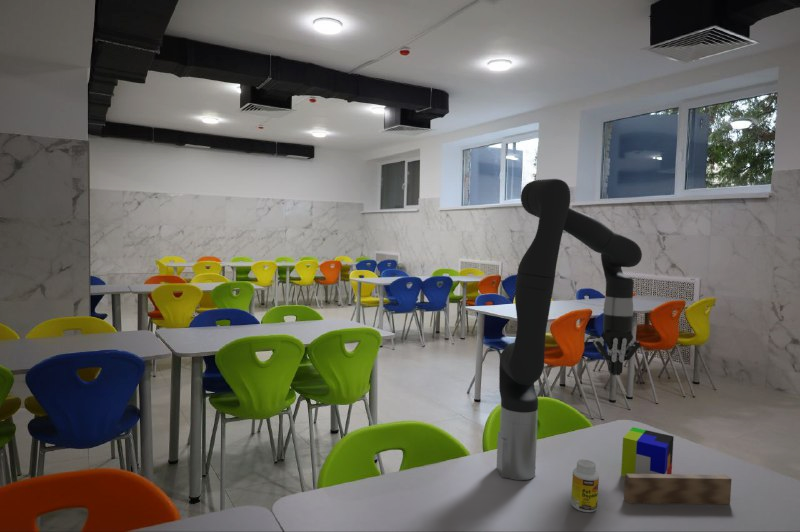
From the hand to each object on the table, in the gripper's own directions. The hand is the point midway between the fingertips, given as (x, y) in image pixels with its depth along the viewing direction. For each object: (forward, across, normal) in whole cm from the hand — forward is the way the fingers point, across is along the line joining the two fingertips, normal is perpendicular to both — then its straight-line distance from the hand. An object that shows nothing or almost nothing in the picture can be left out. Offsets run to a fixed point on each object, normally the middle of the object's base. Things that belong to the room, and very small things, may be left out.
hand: (615, 374), depth 146 cm
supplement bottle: (+23, -19, -29) cm, 42 cm away
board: (+23, +4, -26) cm, 35 cm away
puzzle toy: (+23, +4, -12) cm, 27 cm away
